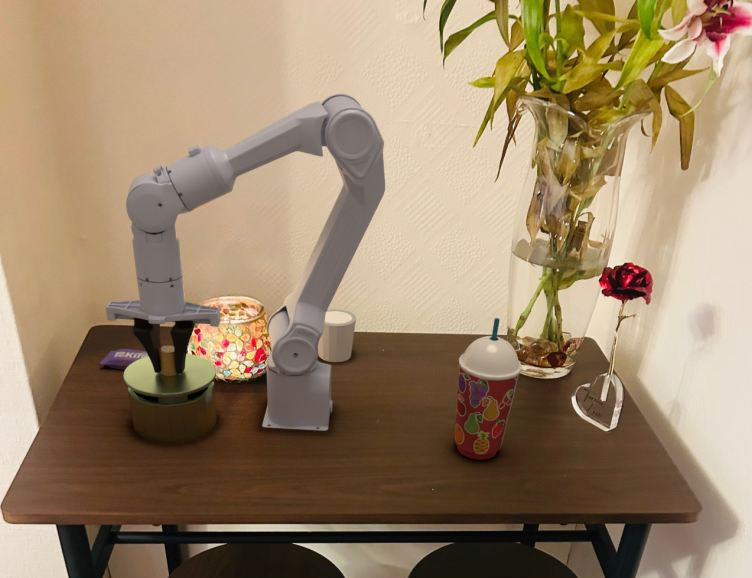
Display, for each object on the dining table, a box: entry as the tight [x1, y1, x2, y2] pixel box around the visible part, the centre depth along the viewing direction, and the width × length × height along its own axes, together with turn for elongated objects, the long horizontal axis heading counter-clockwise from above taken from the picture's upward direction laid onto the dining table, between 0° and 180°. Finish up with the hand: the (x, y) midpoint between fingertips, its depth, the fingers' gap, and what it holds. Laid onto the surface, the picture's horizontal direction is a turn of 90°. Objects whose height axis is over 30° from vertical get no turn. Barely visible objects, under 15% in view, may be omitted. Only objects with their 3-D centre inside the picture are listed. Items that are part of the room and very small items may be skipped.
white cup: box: [318, 309, 357, 363], centre depth 131 cm, size 7×7×7 cm
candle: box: [158, 395, 188, 403], centre depth 110 cm, size 4×4×5 cm
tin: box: [127, 380, 218, 443], centre depth 110 cm, size 12×12×6 cm
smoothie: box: [453, 317, 523, 461], centre depth 105 cm, size 8×8×20 cm
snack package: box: [98, 348, 148, 371], centre depth 125 cm, size 12×2×5 cm
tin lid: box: [122, 345, 217, 397], centre depth 106 cm, size 12×12×5 cm
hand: (169, 370), depth 107 cm, fingers closed on tin lid, 2 cm apart
